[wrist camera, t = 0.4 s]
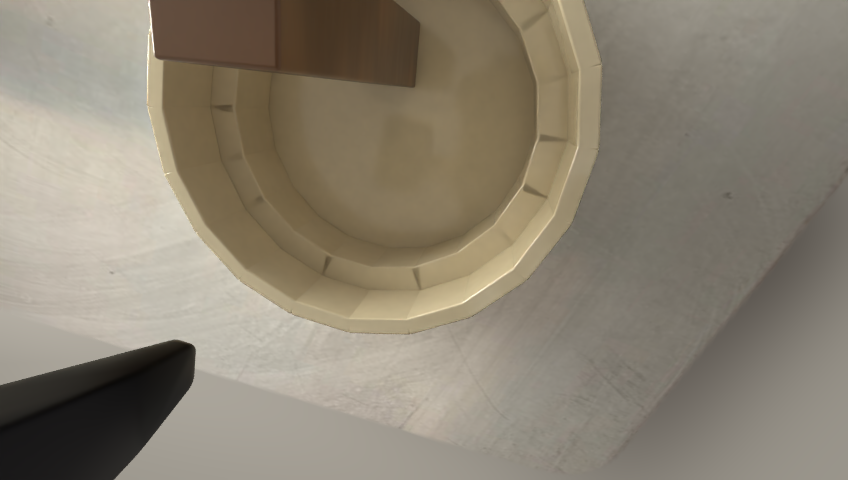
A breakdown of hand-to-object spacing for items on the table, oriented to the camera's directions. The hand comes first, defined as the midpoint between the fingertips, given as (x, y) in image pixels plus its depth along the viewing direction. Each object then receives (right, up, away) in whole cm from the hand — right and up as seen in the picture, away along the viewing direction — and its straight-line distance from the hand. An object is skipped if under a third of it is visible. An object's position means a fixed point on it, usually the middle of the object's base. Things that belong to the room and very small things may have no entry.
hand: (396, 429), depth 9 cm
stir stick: (-1, +11, +9) cm, 14 cm away
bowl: (-1, +9, +10) cm, 13 cm away
